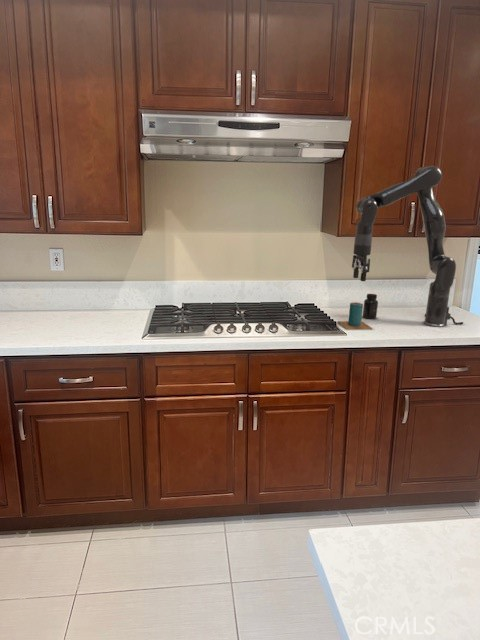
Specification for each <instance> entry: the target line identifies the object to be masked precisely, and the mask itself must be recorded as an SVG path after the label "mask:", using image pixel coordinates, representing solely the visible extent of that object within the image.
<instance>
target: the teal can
mask: <svg viewBox="0 0 480 640" xmlns="http://www.w3.org/2000/svg"><path fill="white" fill-rule="evenodd" d="M363 307H364V303H361V302H350V303H349V312H348V320H347V321H348V324H349V325H351V326H360V325H361V321H362V318H363Z"/></svg>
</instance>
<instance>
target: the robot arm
mask: <svg viewBox="0 0 480 640" xmlns="http://www.w3.org/2000/svg"><path fill="white" fill-rule="evenodd" d="M442 179H443V172H442V170H441V168H440V167H439V166H435V165H428V166H422V167H421V166H420V167H419V168H417V169H416V170H415V172H414V173H413V177H411V178H410V179H408V180H405V181H402V182H398V183H396V184H393V185H390V186H388V187H386V188H384V189H381V190H380V191H378V192H376V193H373V194H370V195H367V196H365V197H362V198H360V199H359V200H358V201H357V203H356V204H355V209H356V212H357V213H359V214H360V215H361V216H360V220H358V221H357V223H356V228H355V236H354V243H353V256H352V263H351V268H352V269H353V275H352V277H353V279H359V276H360V279H359V280H360V282H366V280H367V273H370V266H371V258H368V256H370V255H371V251H372V244H373V228H374V222H375V221H376V217H377V214H378V209H379V208H384V207H388V206H390V205H392V204H394V203H395V202H398V201H400V200H402V199H403V198H406V197H408V196H410V195H412V194H415V193H416V194H417V197H418V202H419V207H420V211H421V217H422V223H423V229H424V233H425V239H426V244H427V251H428V252H427V253H428V266H429V269H430V271H431V272H432V273H433V274H434V275H435V279H434V281H432V282H430V283H429V290H428V296H427V300H426V301H427V302H426V310H425V314H424V322H423V324H425V325H427V326H431V327H445V326H447V325H448V324H447V323H448V321H449V320H451V321H452V323H453V324H454V325H463V324H464V321H460V322H456V320H455V318H454V317H453V316H451V313H449V311H450V306H449V300H450V299H449V298H450V294H451V288H452V286H453V284H454V281H455V276H456V270H457V263H456V260H455V259H454V258H453V257H450V256H446V254H445V249H444V239H445V235H446V231H447V224H446V219H445V214H444V211H443V209H442V208H441V205H440V204H439V202H438V200H437V199H436V196H435V194H434V187H436V186H438V185H439V184H440V183H441V181H442ZM359 273H360V275H359Z"/></svg>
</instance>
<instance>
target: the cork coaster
mask: <svg viewBox="0 0 480 640" xmlns="http://www.w3.org/2000/svg"><path fill="white" fill-rule="evenodd" d="M337 323H338V324H339V325H340V326H342V327H343V328H344V329H346V330H372V329H373V328H372V327H371V326H369V325H368V324H367V323H365V322H363V321H362V320H361V325H360V326H351V325H349V324H348V320H346V321H345V320H344V321H343V320H341V321H340V320H338V321H337Z"/></svg>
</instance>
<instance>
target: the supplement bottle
mask: <svg viewBox="0 0 480 640" xmlns="http://www.w3.org/2000/svg"><path fill="white" fill-rule="evenodd" d="M377 298H378V295H377V294H376V293H367V294H366V298H365V299H364V301H363V309H362V318H364V319H367V320H376V319H377V314H378V307H379V301H378V300H377Z"/></svg>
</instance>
